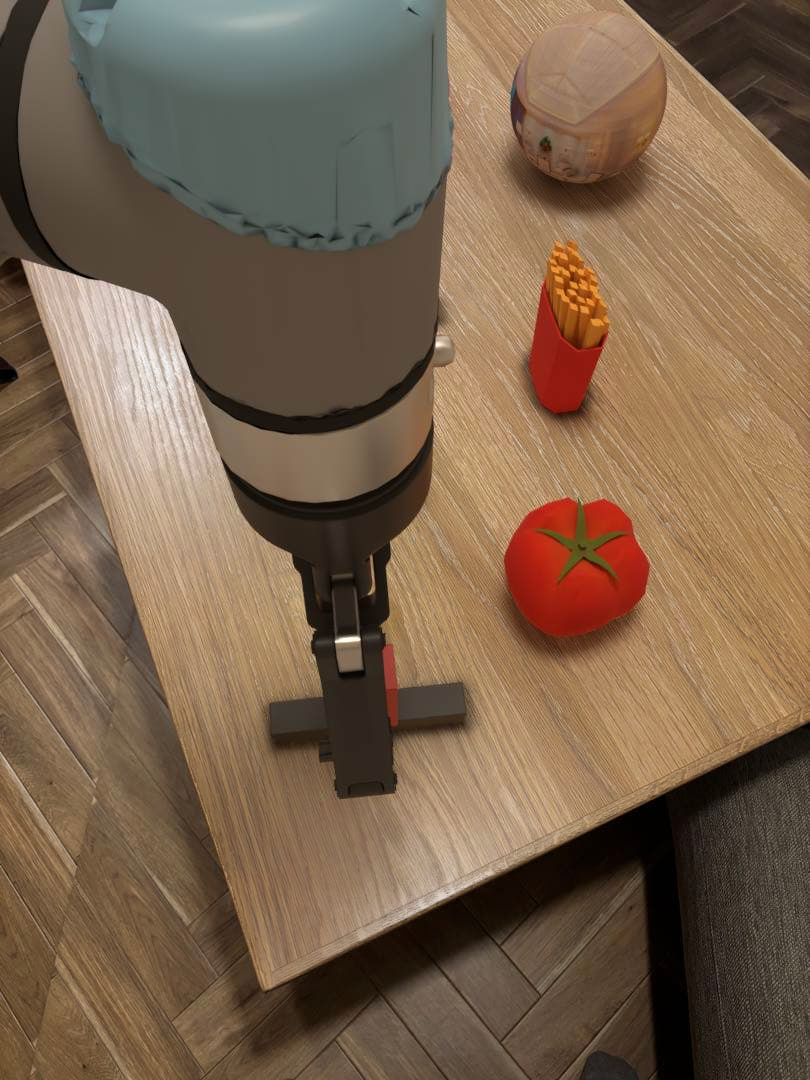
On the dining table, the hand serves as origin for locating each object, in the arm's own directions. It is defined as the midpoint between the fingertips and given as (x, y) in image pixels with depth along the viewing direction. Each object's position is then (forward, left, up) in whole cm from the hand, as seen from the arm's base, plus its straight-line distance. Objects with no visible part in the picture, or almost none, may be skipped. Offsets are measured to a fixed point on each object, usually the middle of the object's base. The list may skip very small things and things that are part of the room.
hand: (356, 639), depth 48 cm
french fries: (+5, +35, -18) cm, 40 cm away
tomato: (+11, +15, -18) cm, 26 cm away
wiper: (0, 0, -17) cm, 17 cm away
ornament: (0, +63, -18) cm, 66 cm away
